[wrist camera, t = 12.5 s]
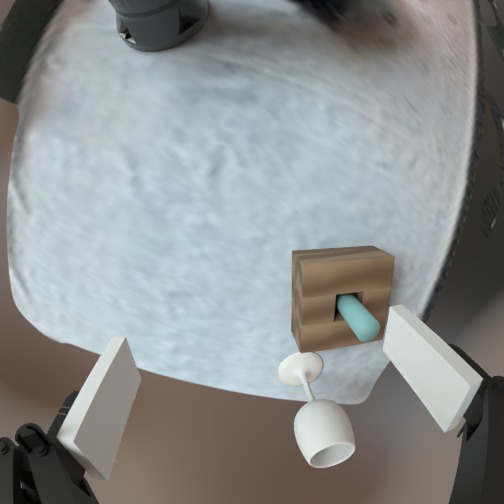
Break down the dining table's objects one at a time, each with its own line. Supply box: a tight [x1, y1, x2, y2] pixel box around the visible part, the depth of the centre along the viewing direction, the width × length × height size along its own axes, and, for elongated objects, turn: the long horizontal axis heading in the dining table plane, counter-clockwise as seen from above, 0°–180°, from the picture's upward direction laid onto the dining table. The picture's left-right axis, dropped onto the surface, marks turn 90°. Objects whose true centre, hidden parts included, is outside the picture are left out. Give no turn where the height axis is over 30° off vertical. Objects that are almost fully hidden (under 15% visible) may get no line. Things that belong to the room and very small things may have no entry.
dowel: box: [335, 293, 380, 342], centre depth 37 cm, size 3×3×12 cm
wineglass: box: [278, 352, 355, 468], centre depth 38 cm, size 9×9×21 cm
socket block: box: [291, 246, 394, 353], centre depth 41 cm, size 14×14×7 cm
